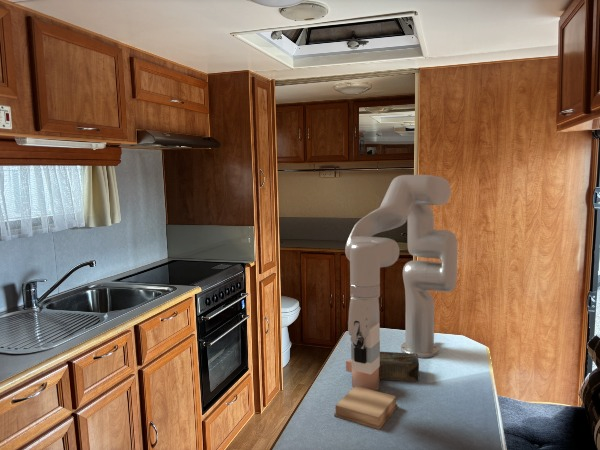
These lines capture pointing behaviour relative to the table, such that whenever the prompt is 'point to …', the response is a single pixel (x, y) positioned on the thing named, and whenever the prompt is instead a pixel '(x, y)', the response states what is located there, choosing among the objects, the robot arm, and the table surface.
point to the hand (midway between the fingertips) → (365, 357)
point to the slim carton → (369, 351)
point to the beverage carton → (399, 366)
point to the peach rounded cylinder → (363, 378)
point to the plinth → (366, 407)
